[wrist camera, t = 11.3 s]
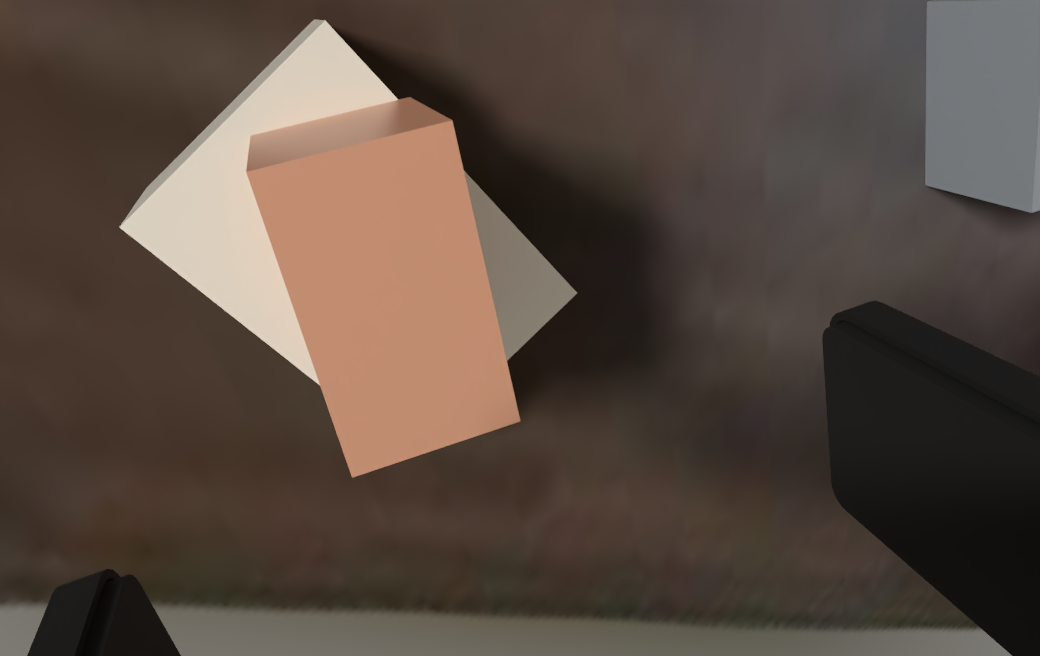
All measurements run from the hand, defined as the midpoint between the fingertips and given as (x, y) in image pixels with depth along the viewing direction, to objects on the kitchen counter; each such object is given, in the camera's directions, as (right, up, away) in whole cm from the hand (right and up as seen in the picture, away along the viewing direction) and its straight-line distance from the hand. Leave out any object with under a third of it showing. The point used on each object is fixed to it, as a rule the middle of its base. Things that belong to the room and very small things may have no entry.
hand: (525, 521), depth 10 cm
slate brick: (+17, +12, +20) cm, 29 cm away
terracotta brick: (-4, +5, +10) cm, 12 cm away
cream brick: (-6, +6, +15) cm, 17 cm away
